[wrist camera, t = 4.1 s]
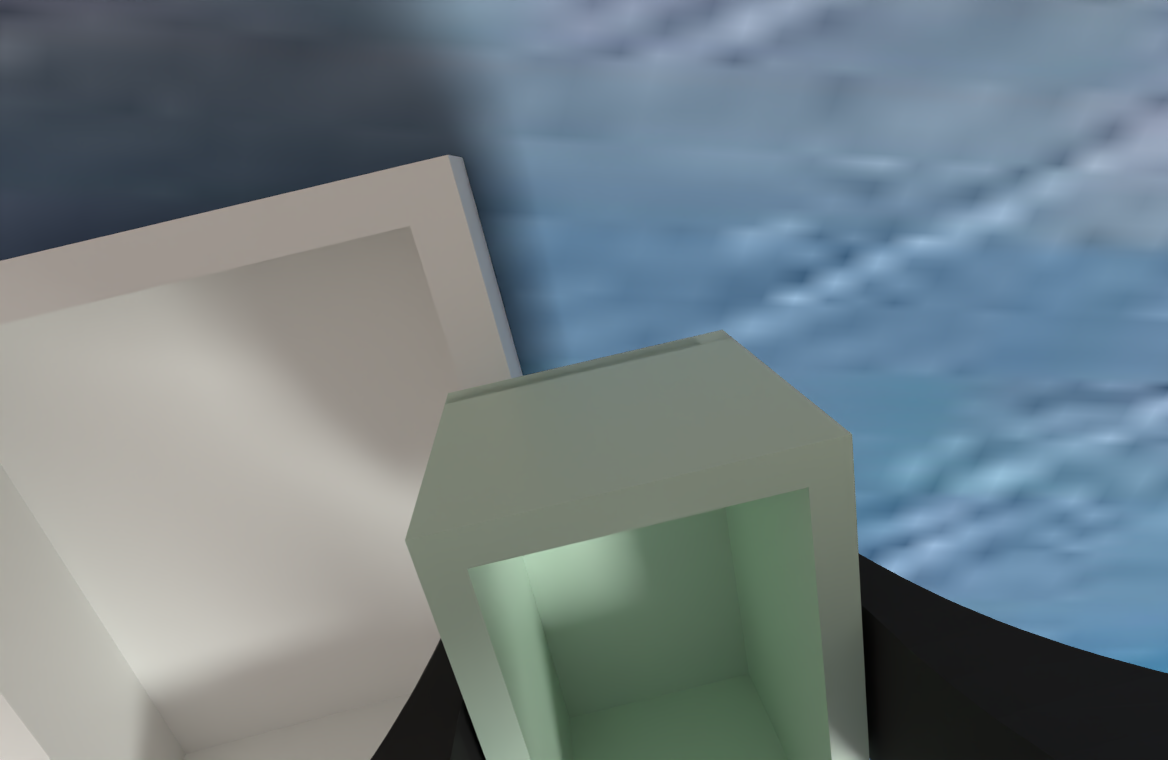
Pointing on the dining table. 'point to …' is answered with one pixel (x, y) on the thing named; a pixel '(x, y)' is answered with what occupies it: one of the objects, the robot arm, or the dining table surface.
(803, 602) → the green crate
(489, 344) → the white crate
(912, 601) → the robot arm
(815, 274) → the dining table surface
